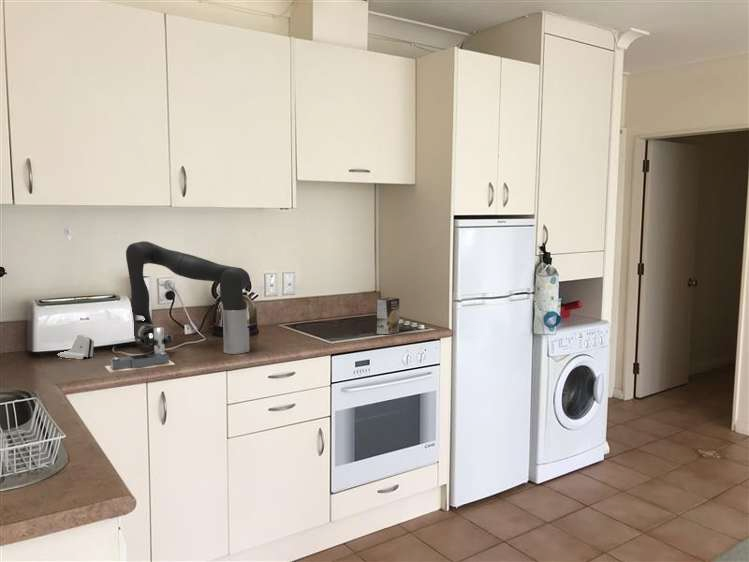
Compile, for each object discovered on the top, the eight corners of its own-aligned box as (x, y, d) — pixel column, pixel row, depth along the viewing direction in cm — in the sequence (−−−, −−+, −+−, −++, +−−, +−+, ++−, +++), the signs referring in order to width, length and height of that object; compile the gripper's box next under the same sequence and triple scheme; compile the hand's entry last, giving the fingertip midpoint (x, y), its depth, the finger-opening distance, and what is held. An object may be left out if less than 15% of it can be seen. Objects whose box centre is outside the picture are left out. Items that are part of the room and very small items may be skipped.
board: (167, 360, 238) (167, 358, 238) (175, 366, 230) (175, 364, 230) (104, 368, 226) (104, 366, 226) (110, 374, 218) (110, 372, 218)
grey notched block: (164, 360, 236) (164, 350, 236) (170, 364, 230) (169, 354, 230) (109, 366, 226) (109, 356, 226) (113, 370, 220) (113, 360, 219)
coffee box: (387, 335, 290) (388, 300, 288) (376, 333, 294) (376, 299, 292) (399, 332, 297) (399, 298, 296) (388, 330, 301) (388, 297, 299)
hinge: (48, 356, 244) (54, 331, 246) (58, 358, 248) (64, 333, 250) (82, 360, 238) (88, 334, 240) (91, 362, 242) (97, 336, 244)
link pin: (163, 357, 243) (162, 326, 242) (165, 359, 240) (164, 328, 239) (153, 359, 241) (152, 327, 240) (156, 361, 238) (155, 329, 237)
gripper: (130, 327, 248) (141, 334, 233) (167, 323, 255) (180, 330, 241) (131, 346, 248) (141, 354, 234) (168, 342, 256) (180, 350, 241)
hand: (161, 342), depth 237 cm, fingers closed on link pin, 3 cm apart
